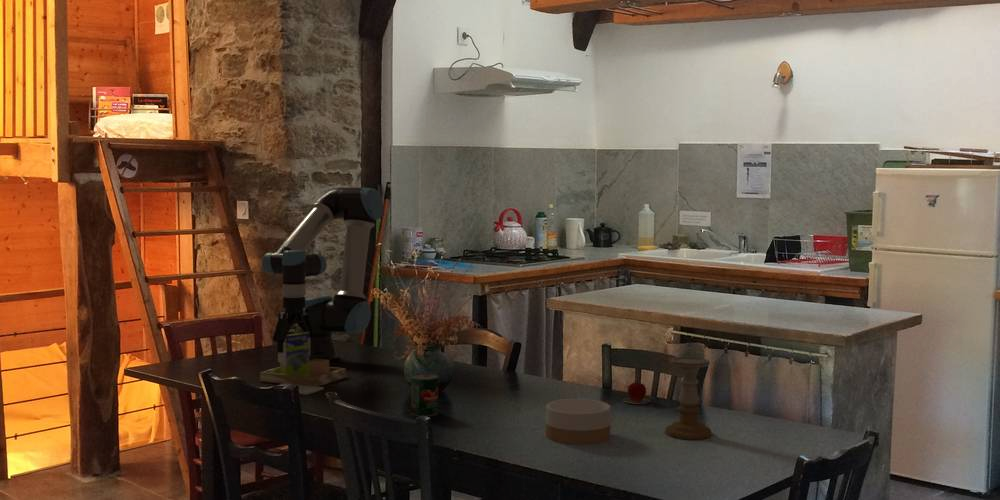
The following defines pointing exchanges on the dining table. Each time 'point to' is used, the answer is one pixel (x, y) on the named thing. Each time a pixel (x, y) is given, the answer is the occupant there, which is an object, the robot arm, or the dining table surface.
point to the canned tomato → (424, 394)
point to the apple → (636, 393)
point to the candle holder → (688, 401)
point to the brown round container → (578, 421)
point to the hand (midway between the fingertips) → (294, 359)
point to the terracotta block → (319, 367)
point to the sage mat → (306, 389)
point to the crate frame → (302, 377)
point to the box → (296, 353)
